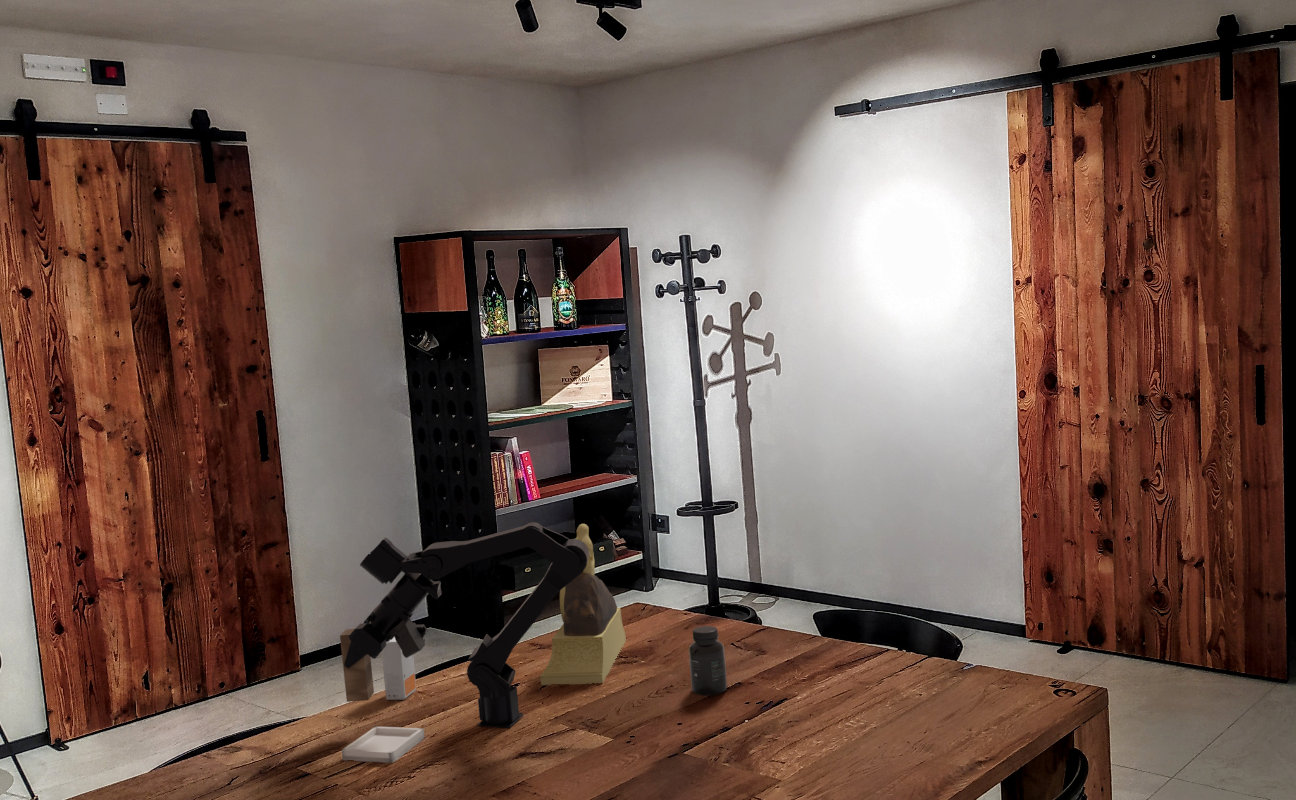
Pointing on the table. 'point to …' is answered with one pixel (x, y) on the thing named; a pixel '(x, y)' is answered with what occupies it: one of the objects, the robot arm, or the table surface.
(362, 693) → the wooden block
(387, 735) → the tray
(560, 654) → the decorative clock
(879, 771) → the table surface
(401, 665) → the skincare box
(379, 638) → the robot arm
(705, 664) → the supplement bottle
